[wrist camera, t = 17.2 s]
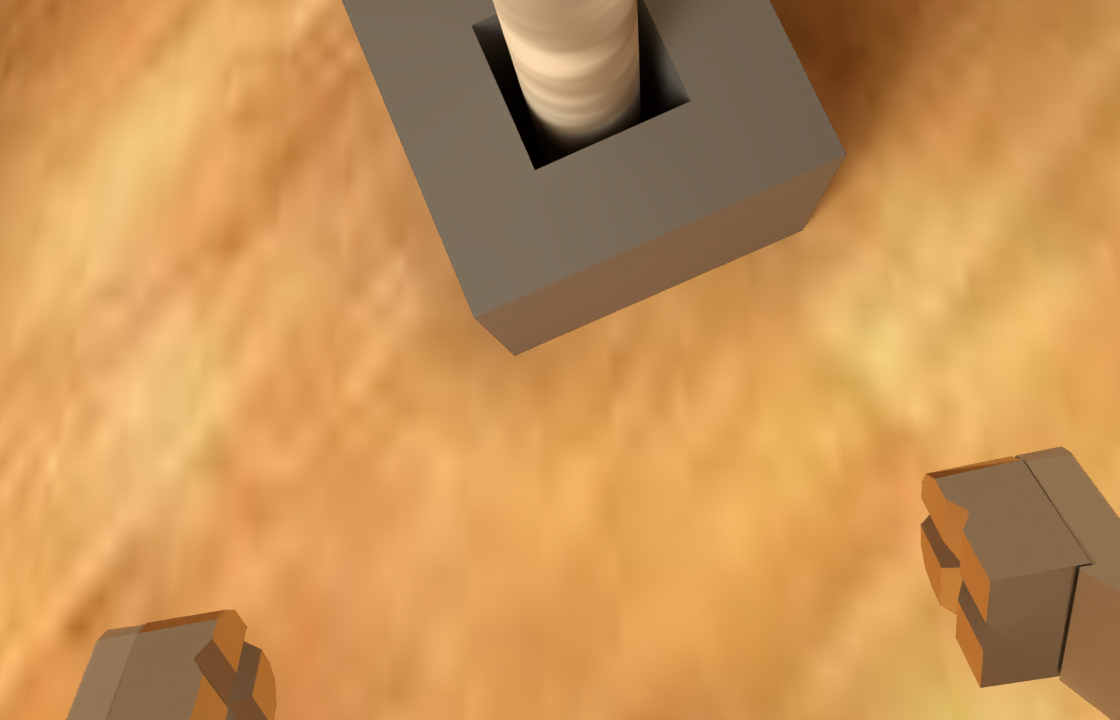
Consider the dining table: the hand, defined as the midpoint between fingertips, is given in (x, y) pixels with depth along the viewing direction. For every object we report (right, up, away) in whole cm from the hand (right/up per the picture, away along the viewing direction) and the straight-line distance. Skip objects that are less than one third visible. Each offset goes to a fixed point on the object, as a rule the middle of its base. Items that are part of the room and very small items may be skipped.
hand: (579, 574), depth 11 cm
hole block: (+1, +12, +33) cm, 35 cm away
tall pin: (+1, +12, +33) cm, 35 cm away
